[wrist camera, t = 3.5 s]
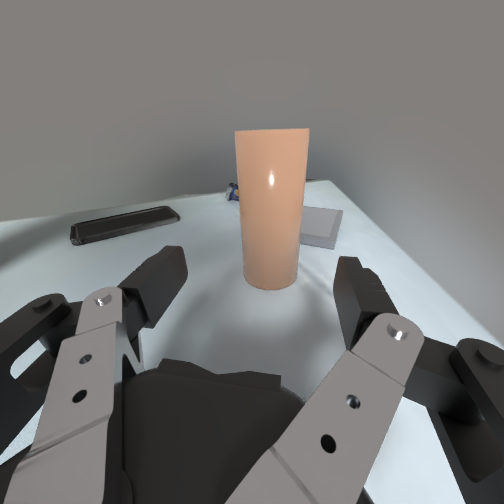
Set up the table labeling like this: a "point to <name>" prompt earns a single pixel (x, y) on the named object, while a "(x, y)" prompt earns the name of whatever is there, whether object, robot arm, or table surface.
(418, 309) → the table surface
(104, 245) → the table surface
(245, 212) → the peach tall cylinder
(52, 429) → the robot arm
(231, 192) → the snack package
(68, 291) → the table surface
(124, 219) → the phone
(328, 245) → the coaster
